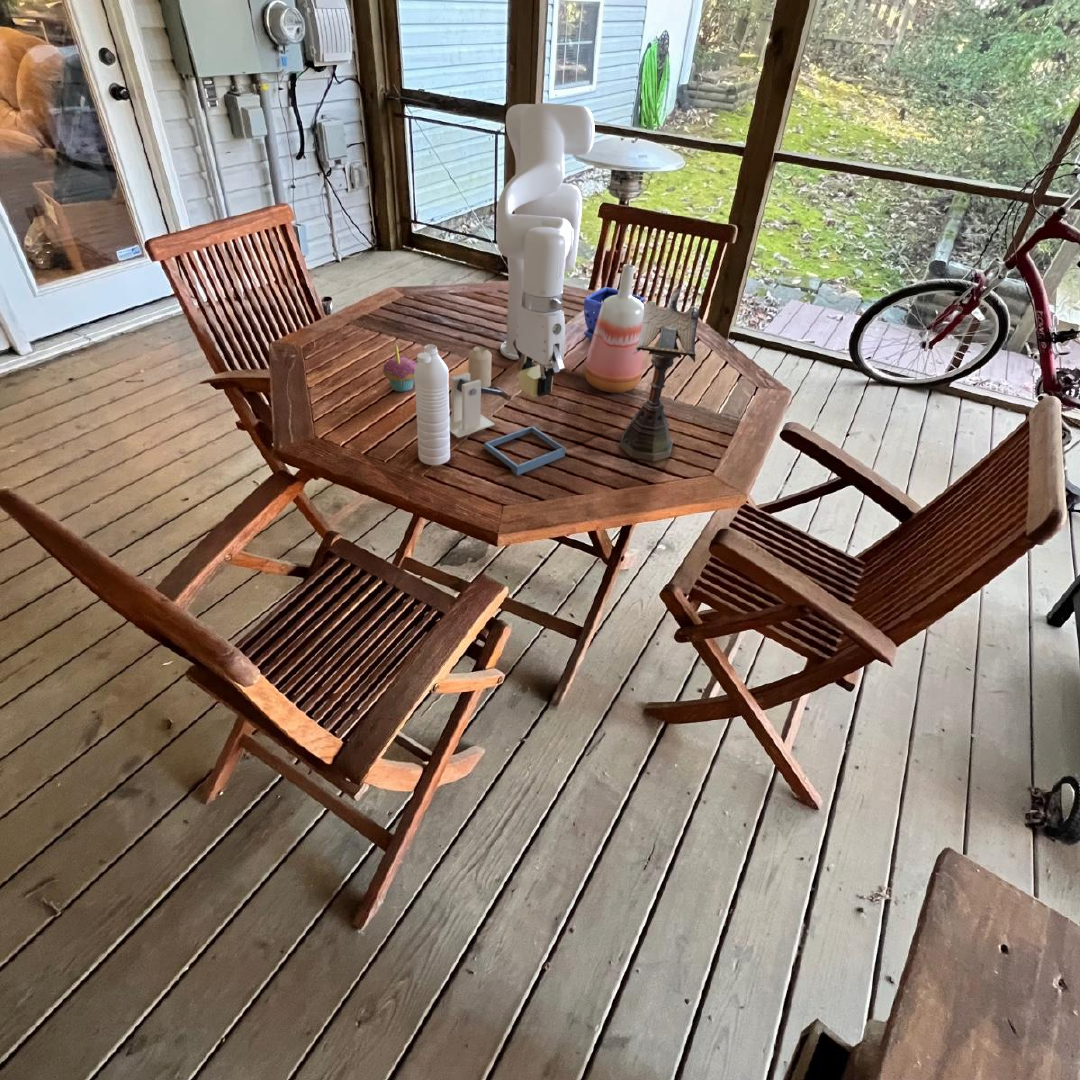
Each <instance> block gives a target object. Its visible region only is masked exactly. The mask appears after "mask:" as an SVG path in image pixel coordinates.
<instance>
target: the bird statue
mask: <svg viewBox="0 0 1080 1080" xmlns="http://www.w3.org/2000/svg"><path fill="white" fill-rule="evenodd" d="M680 293H681V288H678V289H675V290H673V292H672V293H671V295H670V299H669V303H668V305H667V306H666V308H665V309H661V308H659V307H658V306H657V305H656V302H655V301H653V300H648V301H646V303H645V304H644V305H643V306H644V313H643V321H642V328H641V333H640V337H639V341H638V343H637V346H636V349H635V351H634V353H633V355H634V354H635V353H637V352H639V351H640V350H643V351H646V352H648V355H651V359H650V362H651V364H652V365H653V368H654V371H653V376H652V381H651V382H650V390H649V396H648V398H647V399H646V400H643V402H642V404H641V407H640V408H639V410H638V411H637V412H636V413H634V415H633V416H632V417H631V420H630V423H629V424H628V426H626V429H625V430H623V432H622V435H621V438H620V442H619V448H621V449H622V451H624V452H625V453H626V454H627V455H628V456H629V457H630V458H634V459H638V460H644V461H648V462H656V461H660V460H664V459H668V458H670V456H671V451H672V448H673V444H674V440H673V439H672V438H671V435H670V428H669V426H670V423H669V422H668V419H667V418H666V414H665V410H664V409H665V405H664V403H663V402H661V399H660V398H661V397H662V396H661V395H662V391H663V389H664V388H665V387H666V384H665V380H666V373H667V370H668V369H670V368H671V367H673V365H674V359H675V358H678V359H682V356H685V357H686V356H688V357H689V358H690V359H691V360H692V361H693V363H696V356H697V354H696V350H695V348H696V335H697V329H698V325H699V318H700V309H699V308H698V307H696V306H695V304H692V306H689V308H688V310H686V311H683V312H681V311H679V310H678V307H677V306H678V300H679V297H680ZM659 333H660V334H659ZM658 334H659V338H658V339H657V341H656V342H655V343H654V346H649V345H650V344H652V342H653V341H654V340H655V338H656V337H657V336H658ZM677 339H678V340H679V342H680V345H681V347H682V349H683V350H682V349H679V346H678V343H677Z"/></svg>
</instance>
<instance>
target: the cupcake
mask: <svg viewBox="0 0 1080 1080" xmlns="http://www.w3.org/2000/svg"><path fill="white" fill-rule="evenodd" d="M394 345H395V346H394V352H395V357H394V358H391V359H389V360H387V361H386V363H384V365H383V371H382V372H383V375H384V377H385V378H386V379H388V381H389V383H390V385H391V388H392V390H394V391H395V392H400V393H406V392H409V391H410V390H412V389H413V385H414V384H415V378H414V371H415V367H416V365H417V363H418V362H415V360H412V359H410V358H408V357H404V356H400V355H399V353H400V352H399V347H398V345H397V343H394Z"/></svg>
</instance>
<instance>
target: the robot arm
mask: <svg viewBox="0 0 1080 1080" xmlns="http://www.w3.org/2000/svg"><path fill="white" fill-rule="evenodd" d="M594 121H595V120H594V115H593V114H592V111H591V110H590V109H589V107H586V106H584V105H579V104H578V105H577V104H576V105H575V104H563V103H551V102H550V103H549V102H540V103H534V104H533V103H520V104H518V103H517V104H514V105H511V107H509V108H508V109H507V111H506V115H505V128H506V134H507V137H508V140H509V143H510V146H511V149H512V151H513V155H514V161H515V174H514V175H513V176H512V177H511V178H510V179H509V181H507V183H506V184H505V185H504V187H503V189H502V191H501V193H500V195H499V198H498V201H497V209H496V246H497V249H498V251H499V252H500V254H501V255H502V256H503V257H505V258H506V259H507V260H506V261H507V270H508V271H507V272H508V286H507V287H508V290H507V312H506V313H507V315H506V340H505V341H503V342H502V343H501V345H500V348H499V349H500V353H501V355H503V356H504V357H505V358H507V359H508V360H509V359H510V360H513V361H516V360H519V362H518V364H519V366H520V369H521V370H524V369H528V368H531V367H534V366H536V364H535V362H537V363H538V364H539V365H540V374H541V377H539V378H538V390H537V395H538V396H537V397H539V398H540V397H541V398H542V397H543V396H547V395H550V394H551V393H552V391H551V386H552V387H553V384H552V377H553V378H554V377H556V375H557V374H558V373H561V372H563V371H564V370H565V365H564V363H563V361H564V359H565V353H566V352H565V350H566V321H565V312H564V311H563V310H562V309H563V308H564V304H563V293H564V280H565V273H566V272H569V271H572V270H573V268H574V267H575V265H576V261H577V258H578V257H577V256H578V247H579V239H580V229H581V219H582V209H583V201H582V199H583V198H582V195H581V194H582V193H581V191H580V189H579V188H578V186H576V185H575V184H572V183H564V179H565V155H569V156H570V155H573V156H583V157H584V156H587V155H589V153H590V152H591V150H592V148H593V145H594V140H595V122H594ZM513 212H514V213H513ZM547 366H548V369H547ZM546 369H547V371H546ZM521 370H520V371H521Z"/></svg>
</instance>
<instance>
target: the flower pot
mask: <svg viewBox="0 0 1080 1080" xmlns="http://www.w3.org/2000/svg"><path fill="white" fill-rule="evenodd" d="M618 292H619V289H616V288H613V287H607V286H605V287H602V288H600V289H598V290H596V291H595V292H593V293H591V294H590V295H588V296H586V297H585V298H584V301H583V315H584V320H585V325H586V327H587V329H586V330H584V332H583V333H584V335H585V337H586V338H588V339H589V340H592V337H593V334H594V330H595V326H596V323H597V319H598V316H599V312H600V308H601V305H602V303H603V301H604V300H605V299H606V298H608V297H610V296H613V295H617V294H618ZM631 295H632V297H634V298H636V299H638V300H639V301H640V302H641V303H642V304H643V305H644V303H645V298H644V297H642V296H639V295H636V294H633V293H631Z"/></svg>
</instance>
